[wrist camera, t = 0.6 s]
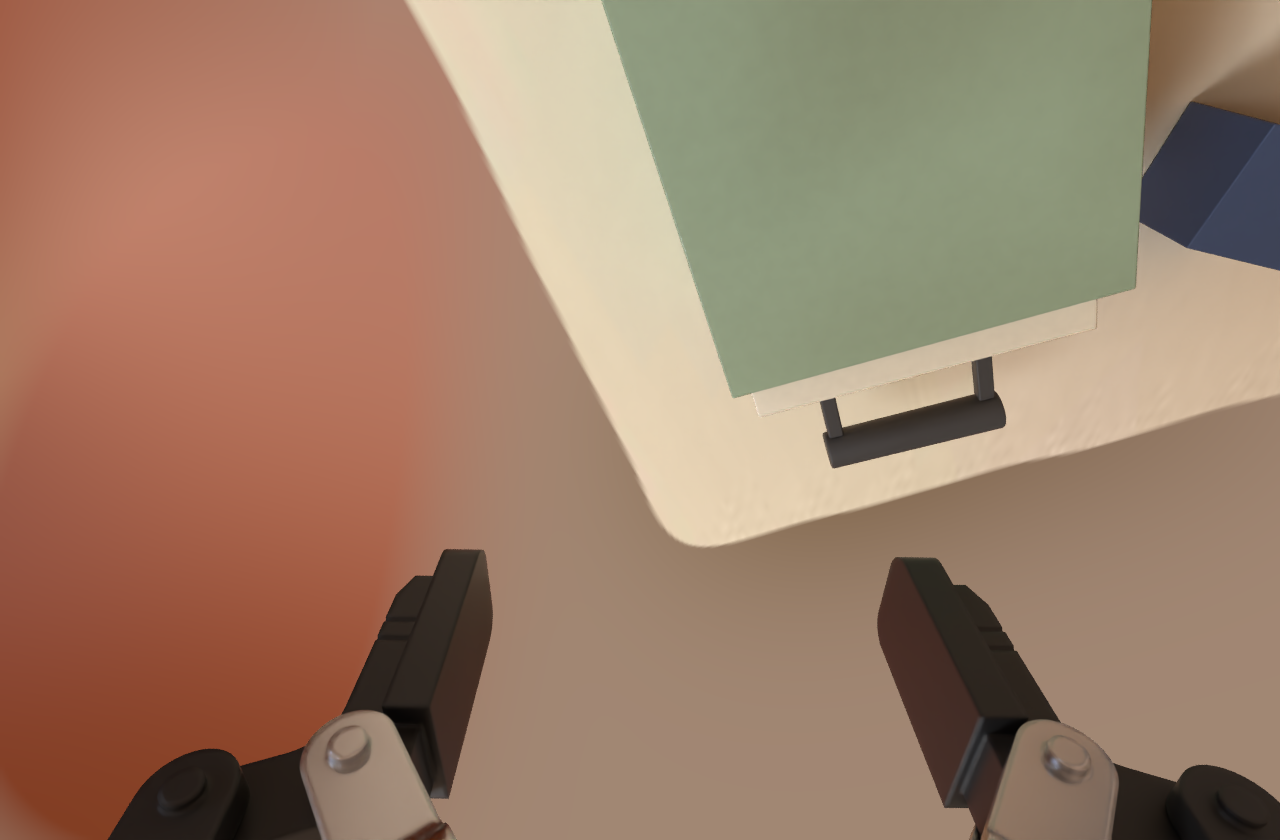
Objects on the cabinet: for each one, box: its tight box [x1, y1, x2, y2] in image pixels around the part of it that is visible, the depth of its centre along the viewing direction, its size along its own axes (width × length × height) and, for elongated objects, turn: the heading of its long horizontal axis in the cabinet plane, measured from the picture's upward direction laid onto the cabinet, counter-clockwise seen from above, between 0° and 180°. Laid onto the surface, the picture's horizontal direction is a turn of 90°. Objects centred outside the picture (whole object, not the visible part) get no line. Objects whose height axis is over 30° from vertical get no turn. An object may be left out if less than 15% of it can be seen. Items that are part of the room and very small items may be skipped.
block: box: [1139, 102, 1280, 271], centre depth 25 cm, size 4×4×4 cm
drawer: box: [751, 299, 1097, 468], centre depth 24 cm, size 19×11×8 cm, turn 20°
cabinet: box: [601, 0, 1152, 398], centre depth 22 cm, size 15×13×10 cm
